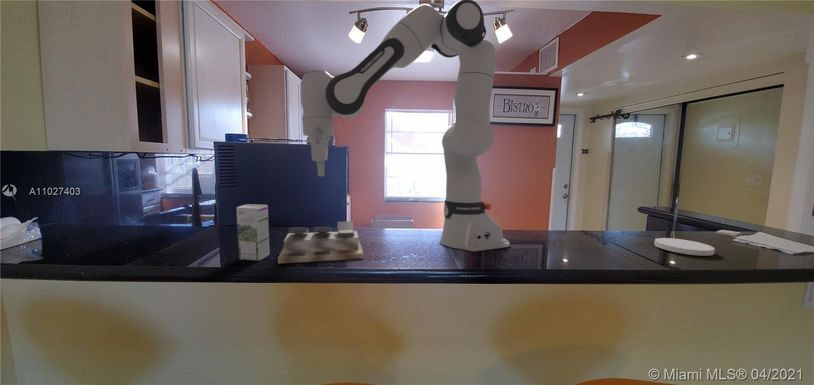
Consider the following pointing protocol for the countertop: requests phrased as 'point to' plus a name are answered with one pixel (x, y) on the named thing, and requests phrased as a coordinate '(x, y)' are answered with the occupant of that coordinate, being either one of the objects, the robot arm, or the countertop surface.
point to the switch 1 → (299, 230)
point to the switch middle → (321, 229)
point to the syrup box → (253, 232)
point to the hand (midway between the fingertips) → (321, 176)
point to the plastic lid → (684, 246)
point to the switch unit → (320, 247)
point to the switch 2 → (345, 229)
